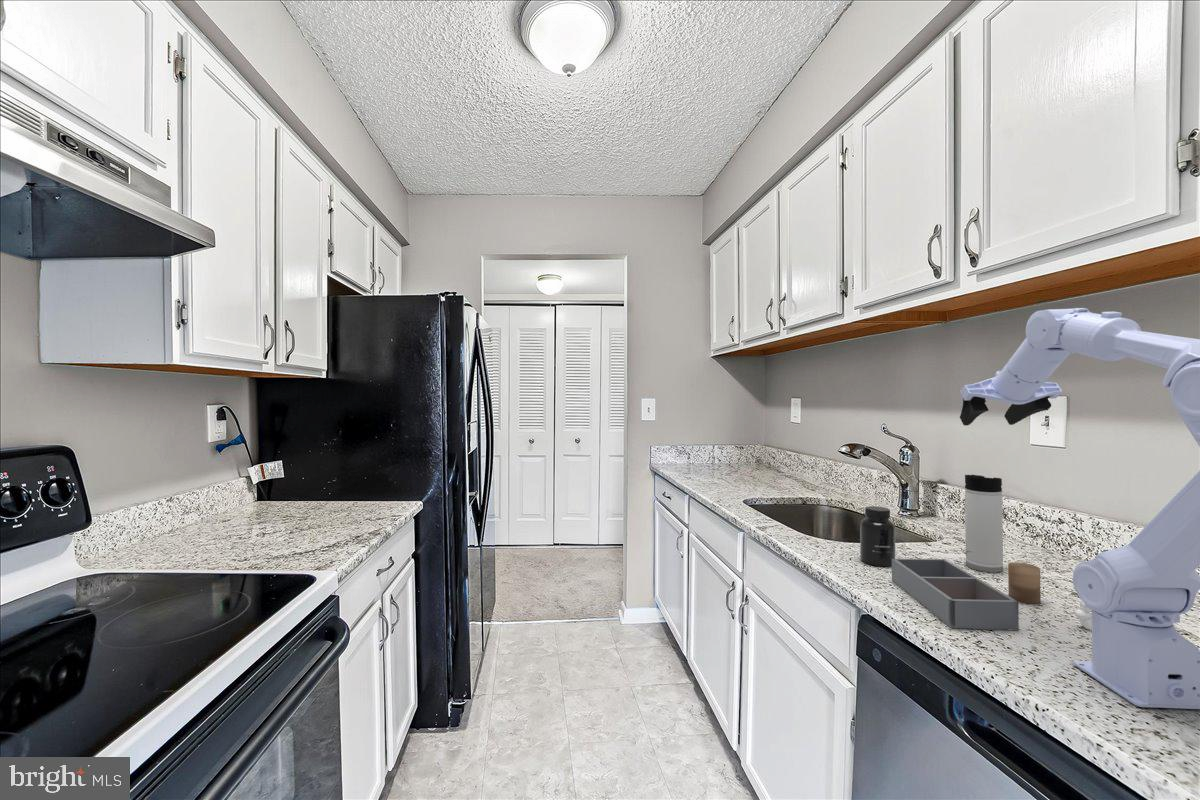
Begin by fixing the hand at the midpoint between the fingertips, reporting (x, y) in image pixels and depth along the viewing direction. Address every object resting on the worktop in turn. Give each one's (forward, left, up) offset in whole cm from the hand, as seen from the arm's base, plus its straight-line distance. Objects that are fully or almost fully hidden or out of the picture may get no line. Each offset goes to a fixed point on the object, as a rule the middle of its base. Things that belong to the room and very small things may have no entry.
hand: (986, 420), depth 91 cm
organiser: (-4, +9, -32) cm, 34 cm away
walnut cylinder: (-2, -5, -32) cm, 33 cm away
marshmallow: (-13, -8, -33) cm, 36 cm away
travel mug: (+14, -8, -32) cm, 36 cm away
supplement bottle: (+17, +12, -32) cm, 39 cm away
